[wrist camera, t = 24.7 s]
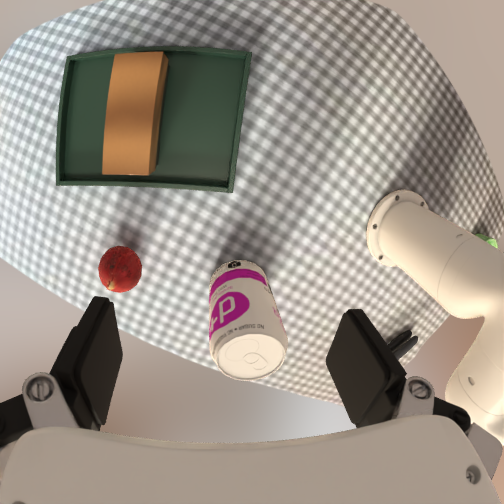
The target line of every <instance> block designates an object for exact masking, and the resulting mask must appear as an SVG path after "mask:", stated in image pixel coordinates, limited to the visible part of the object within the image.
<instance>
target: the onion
mask: <svg viewBox="0 0 504 504" xmlns="http://www.w3.org/2000/svg"><path fill="white" fill-rule="evenodd" d="M98 270H99V277H100V279H101V282H102V284H103V285H104V286H105V287H106V288H107V289H108V290H111V291H113V292H119V293H121V292H125V291H129V290H131V289H132V288H133V287H134V286H136V285H137V283H138V282H139V279H140V277H141V272H142V265H141V262H140V259H139V257H138V256H137V254H136V253H135V252H134V251H133V250H131V249H130V248H128V247H123V246H116V247H113V248H110V249H109V250H107V251H106V253H105V254H104V255H103V256H102V258H101V260H100V263H99V267H98Z"/></svg>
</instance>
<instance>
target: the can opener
mask: <svg viewBox="0 0 504 504" xmlns="http://www.w3.org/2000/svg"><path fill="white" fill-rule="evenodd" d="M411 336H412V332H411V331H406V332H405V333H403V334H402V335H400V336H399V337H397V338H396V339H395V340H393V341H392V342H391V343H389V344H388V347H389V348H390V349H391V351H392V352H393V354H394V355H395V357H396V358H397V360H399V359H400V358H401V357H402V356H403V355H405V354H406V353H407V352H408V351H409V350H410V349H411V348H412V347H413V346H414V345H415V344H416V343H417V341H418V336H413V337H412V338H410V337H411ZM407 340H408V341H407ZM406 341H407V342H406Z"/></svg>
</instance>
